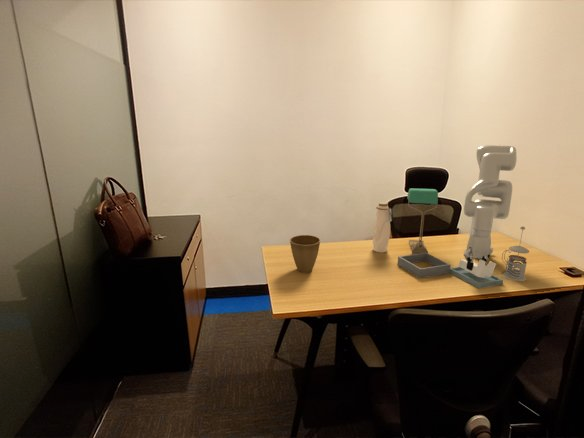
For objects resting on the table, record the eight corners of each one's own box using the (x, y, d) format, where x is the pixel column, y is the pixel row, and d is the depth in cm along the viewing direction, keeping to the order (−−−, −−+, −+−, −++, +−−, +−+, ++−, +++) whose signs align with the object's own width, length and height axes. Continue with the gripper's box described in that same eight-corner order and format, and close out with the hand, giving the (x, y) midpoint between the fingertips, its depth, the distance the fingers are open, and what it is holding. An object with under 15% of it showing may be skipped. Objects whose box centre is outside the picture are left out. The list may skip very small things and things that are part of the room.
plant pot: (288, 264, 179) (288, 235, 175) (317, 263, 181) (317, 234, 176) (291, 276, 165) (291, 245, 161) (321, 275, 166) (322, 244, 162)
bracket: (490, 279, 157) (496, 263, 156) (478, 276, 155) (484, 261, 154) (469, 268, 169) (474, 253, 168) (457, 266, 167) (463, 251, 166)
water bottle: (392, 249, 201) (395, 202, 193) (387, 254, 193) (391, 205, 186) (375, 246, 206) (378, 200, 199) (370, 250, 199) (372, 203, 191)
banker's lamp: (405, 252, 196) (410, 192, 187) (402, 241, 215) (407, 186, 206) (434, 254, 193) (441, 193, 183) (428, 243, 212) (434, 186, 203)
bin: (425, 260, 185) (426, 252, 183) (449, 273, 168) (450, 264, 167) (397, 264, 179) (398, 256, 178) (419, 278, 163) (420, 269, 162)
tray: (470, 268, 174) (470, 264, 173) (502, 284, 157) (503, 279, 156) (448, 272, 170) (449, 268, 169) (479, 288, 152) (480, 283, 152)
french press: (518, 282, 158) (528, 230, 152) (494, 273, 168) (502, 224, 162) (530, 278, 162) (540, 227, 156) (506, 269, 172) (514, 221, 166)
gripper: (489, 228, 163) (483, 263, 168) (459, 232, 158) (455, 267, 163) (502, 233, 157) (496, 269, 161) (473, 236, 151) (467, 274, 156)
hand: (476, 268), depth 162 cm, fingers closed on bracket, 7 cm apart
